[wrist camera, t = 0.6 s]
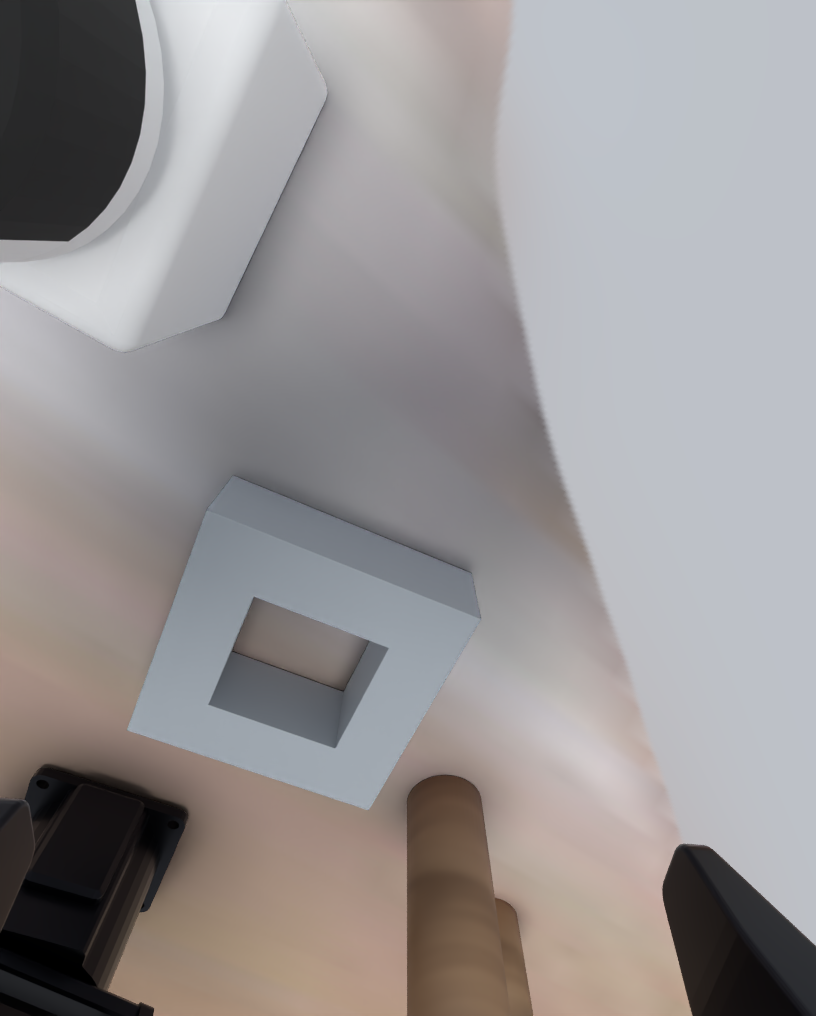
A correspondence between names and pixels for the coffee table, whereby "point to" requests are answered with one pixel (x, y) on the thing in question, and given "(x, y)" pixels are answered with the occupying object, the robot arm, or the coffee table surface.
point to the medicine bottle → (145, 155)
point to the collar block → (325, 598)
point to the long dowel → (451, 905)
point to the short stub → (513, 960)
